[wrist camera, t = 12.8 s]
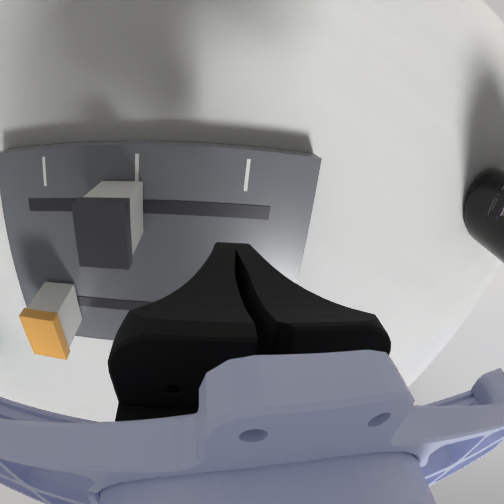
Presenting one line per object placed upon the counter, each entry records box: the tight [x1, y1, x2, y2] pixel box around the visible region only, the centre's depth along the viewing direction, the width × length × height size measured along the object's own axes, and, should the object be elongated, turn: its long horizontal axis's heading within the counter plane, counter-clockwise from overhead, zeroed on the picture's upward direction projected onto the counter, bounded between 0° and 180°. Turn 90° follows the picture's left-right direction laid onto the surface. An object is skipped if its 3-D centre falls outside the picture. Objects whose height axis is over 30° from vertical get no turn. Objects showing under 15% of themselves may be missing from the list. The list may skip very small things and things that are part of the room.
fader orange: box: [19, 282, 82, 360], centre depth 17 cm, size 3×3×4 cm
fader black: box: [72, 181, 144, 270], centre depth 14 cm, size 3×3×4 cm
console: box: [0, 141, 321, 340], centre depth 19 cm, size 14×20×2 cm
